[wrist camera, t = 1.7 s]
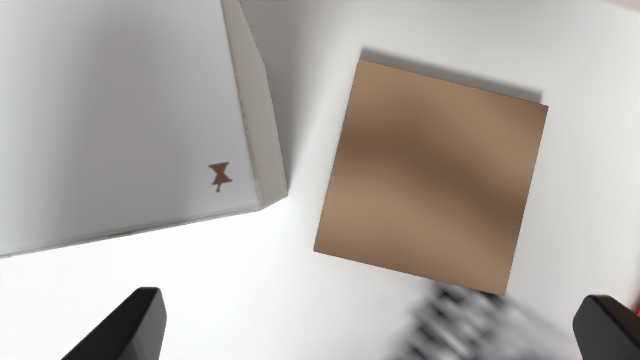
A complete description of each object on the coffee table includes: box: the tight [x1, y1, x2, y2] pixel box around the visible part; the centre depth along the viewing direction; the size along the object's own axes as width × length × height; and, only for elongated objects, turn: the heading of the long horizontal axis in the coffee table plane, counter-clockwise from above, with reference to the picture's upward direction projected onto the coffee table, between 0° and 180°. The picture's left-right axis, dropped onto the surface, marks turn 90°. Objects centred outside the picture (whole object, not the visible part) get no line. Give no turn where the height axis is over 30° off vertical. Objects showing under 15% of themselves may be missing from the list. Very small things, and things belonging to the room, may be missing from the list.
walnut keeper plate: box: [314, 59, 549, 296], centre depth 23 cm, size 10×10×1 cm
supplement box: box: [0, 0, 288, 259], centre depth 16 cm, size 7×7×13 cm
